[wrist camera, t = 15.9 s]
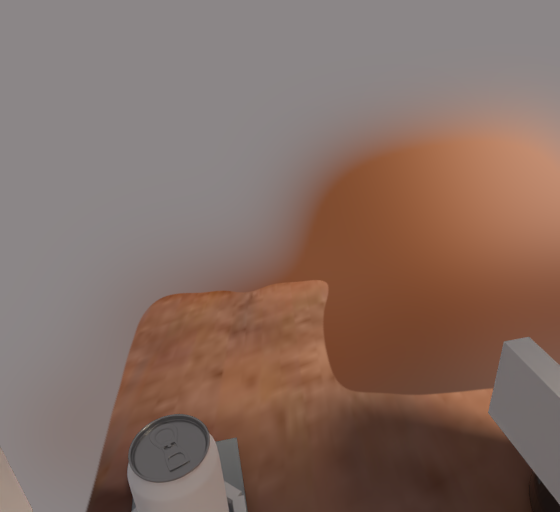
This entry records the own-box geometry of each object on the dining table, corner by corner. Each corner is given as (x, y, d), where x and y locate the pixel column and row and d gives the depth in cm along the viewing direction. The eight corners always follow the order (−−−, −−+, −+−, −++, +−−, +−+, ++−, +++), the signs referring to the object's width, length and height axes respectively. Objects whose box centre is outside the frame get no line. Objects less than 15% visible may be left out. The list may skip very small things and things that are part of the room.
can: (213, 493, 42) (194, 396, 36) (247, 555, 37) (231, 455, 31) (143, 533, 39) (110, 435, 33) (170, 606, 34) (138, 506, 28)
